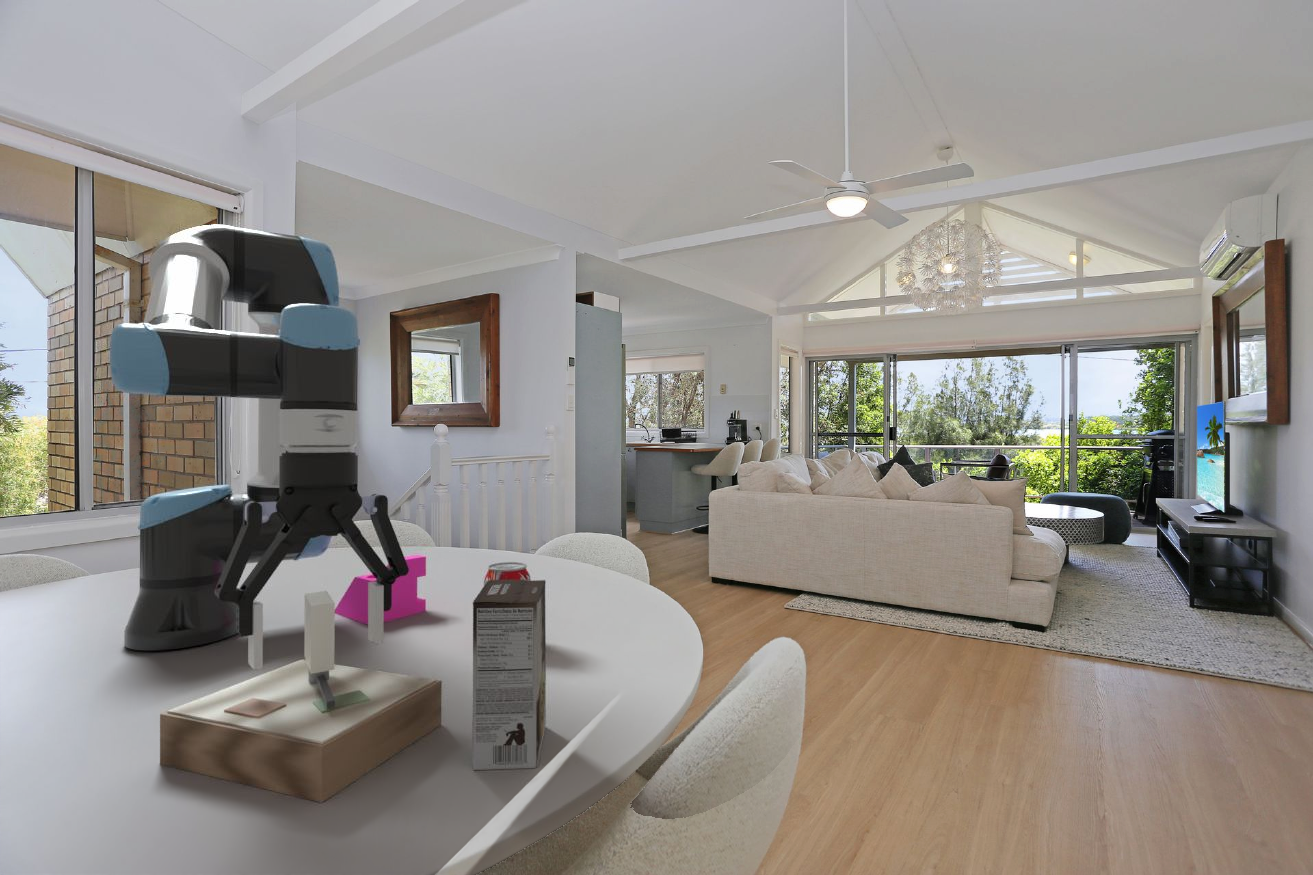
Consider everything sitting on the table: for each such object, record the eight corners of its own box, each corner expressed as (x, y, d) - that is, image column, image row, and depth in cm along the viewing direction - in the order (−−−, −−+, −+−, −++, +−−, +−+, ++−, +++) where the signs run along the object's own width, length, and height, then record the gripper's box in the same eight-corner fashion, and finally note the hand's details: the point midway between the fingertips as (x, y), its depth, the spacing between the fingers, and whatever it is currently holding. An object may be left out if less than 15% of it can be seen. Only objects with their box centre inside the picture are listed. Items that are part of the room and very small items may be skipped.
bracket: (425, 613, 115) (425, 556, 115) (371, 627, 107) (371, 565, 107) (388, 603, 122) (388, 549, 122) (334, 615, 114) (334, 557, 114)
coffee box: (486, 728, 69) (487, 578, 69) (547, 726, 70) (547, 577, 70) (469, 772, 60) (470, 600, 60) (539, 769, 61) (539, 598, 61)
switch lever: (317, 713, 61) (318, 620, 61) (304, 672, 72) (304, 593, 72) (343, 707, 62) (343, 616, 62) (326, 668, 73) (326, 590, 73)
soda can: (519, 653, 93) (519, 571, 93) (474, 650, 95) (474, 569, 95) (537, 639, 100) (538, 562, 100) (495, 636, 102) (496, 560, 102)
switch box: (159, 763, 62) (160, 709, 62) (301, 699, 77) (301, 656, 77) (321, 802, 55) (322, 741, 55) (441, 724, 70) (441, 676, 70)
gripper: (191, 452, 59) (190, 691, 59) (439, 449, 75) (439, 637, 75) (179, 451, 64) (179, 669, 64) (413, 448, 80) (413, 623, 80)
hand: (319, 652), depth 69 cm, fingers open, 11 cm apart
